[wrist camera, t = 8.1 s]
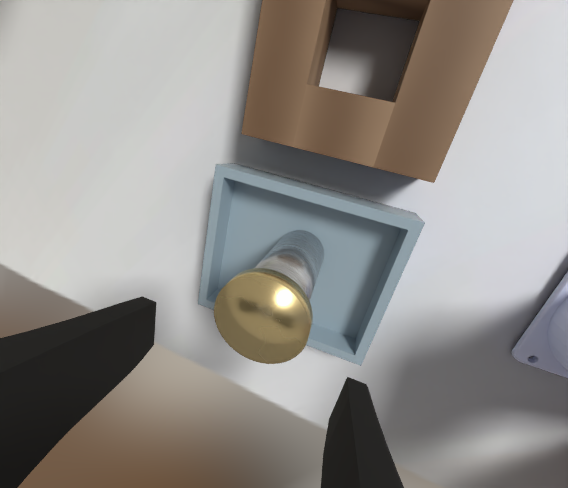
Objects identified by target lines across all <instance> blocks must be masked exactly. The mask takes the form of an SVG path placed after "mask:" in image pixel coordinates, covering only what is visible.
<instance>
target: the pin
mask: <svg viewBox="0 0 568 488" xmlns="http://www.w3.org/2000/svg"><path fill="white" fill-rule="evenodd" d="M323 260H324V248H323V245H322V243H321V242H320V240H319V239H318V238H317V237H316V236H315V235H314V234H312V233H310V232H308V231H304V230H294V231H291V232H288V233H287V234H285V235H284V236H283V237H282V238H281V239H280V240H279V242H278V243H277V244H276V245H275V246H274V247H273V248H272V249H271V250H270V251H269V253H268V254H267V255H266V256H265V257H264V258H263V259H262V260H261V261H260V263H259V264H258V265H257V266H256V267H255V268H252V269H248V270H245V271H242V272H240V273H239V274H237V275H236V276H234V277H233V278H232V279H231V280H230V281H229V282H228V283H227V284H226V285H225V286H224V287H223V288H222V289H221V291H220V292H219V294H218V295H217V298H216V300H215V305H214V317H215V322H216V325H217V328H218V330H219V332H220V334H221V335H222V337H223V338H224V340H225V341H226V342H227V343H228V344H229V346H230V347H232V348H233V349H234V350H235V351H236V352H238V353H239V354H241V355H242V356H244V357H246V358H248V359H250V360H253V361H256V362H260V363H266V364H276V363H282V362H286V361H289V360H291V359H293V358H294V357H296V356H297V355H298V354H299V353H300V352H301V351H302V350H303V349H304V347H305V345H306V343H307V341H308V337H309V334H310V330H311V326H312V321H313V313H312V307H311V304H310V299H311V296H312V293H313V290H314V287H315V284H316V281H317V278H318V275H319V272H320V269H321V266H322V263H323Z"/></svg>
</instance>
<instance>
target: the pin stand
mask: <svg viewBox="0 0 568 488" xmlns="http://www.w3.org/2000/svg"><path fill="white" fill-rule="evenodd" d="M512 3H513V0H262V6H261V12H260V18H259V25H258V31H257V37H256V44H255V50H254V57H253V63H252V69H251V76H250V82H249V88H248V95H247V101H246V107H245V114H244V120H243V126H242V133H241V134H243V135H247V136H251V137H255V138H259V139H263V140H267V141H271V142H275V143H279V144H283V145H287V146H291V147H295V148H299V149H303V150H307V151H310V152H314V153H318V154H322V155H326V156H330V157H334V158H338V159H342V160H346V161H350V162H354V163H358V164H362V165H366V166H370V167H373V168H377V169H381V170H385V171H389V172H393V173H397V174H401V175H405V176H409V177H413V178H417V179H421V180H425V181H429V182H433V183H434V182H435V180H436V177H437V175H438V173H439V170H440V168H441V166H442V164H443V161H444V159H445V157H446V154H447V152H448V150H449V147H450V145H451V143H452V141H453V138H454V136H455V134H456V131H457V129H458V127H459V124H460V122H461V120H462V118H463V115H464V113H465V111H466V108H467V106H468V104H469V101H470V99H471V97H472V95H473V92H474V90H475V88H476V85H477V83H478V81H479V78H480V76H481V74H482V72H483V69H484V67H485V65H486V62H487V60H488V58H489V55H490V53H491V51H492V49H493V46H494V44H495V42H496V39H497V37H498V35H499V33H500V30H501V28H502V26H503V23H504V21H505V19H506V16H507V14H508V12H509V10H510V7H511V5H512ZM337 8H341V9H348V10H354V11H360V12H367V13H373V14H379V15H385V16H392V17H398V18H404V19H411V20H417V21H420V22H419V24H418V27H417V30H416V33H415V36H414V39H413V42H412V45H411V48H410V51H409V54H408V57H407V60H406V63H405V66H404V69H403V72H402V75H401V78H400V81H399V83H398V86H397V89H396V92H395V95H394V98H393V101H392V102H389V101H385V100H380V99H375V98H371V97H366V96H361V95H356V94H352V93H347V92H342V91H337V90H333V89H328V88H323V87H319V83H320V78H321V74H322V70H323V66H324V62H325V58H326V54H327V50H328V45H329V41H330V37H331V33H332V29H333V25H334V21H335V17H336V12H337Z"/></svg>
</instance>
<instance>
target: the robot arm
mask: <svg viewBox="0 0 568 488" xmlns="http://www.w3.org/2000/svg"><path fill="white" fill-rule="evenodd" d="M155 316H156V302H154V301H152V300H149V299H147V298H144V297H140V298H136V299H132V300H129V301H126V302H123V303H119V304H116V305H113V306H110V307H107V308H104V309H101V310H98V311H95V312H91V313H88V314H86V315H82V316H79V317H76V318H72V319H69V320H66V321H62V322H59V323H55V324H52V325H48V326H45V327H41V328H38V329H34V330H31V331H28V332H24V333H20V334H16V335H12V336H8V337H4V338H0V488H17V487H18V486H19V485H20V484H21V483H22V482H23V480H24V479H25V478H26V477H27V476H28V475H29V474H30V472H31V471H32V470H33V469H34V468H35V467H36V466H37V465H38V464H39V463H40V461H41V460H42V459H43V458H44V457H45V456H46V455H47V453H48V452H49V451H50V450H51V449H52V448H53V447H54V446H55V445H56V444H57V443H58V441H59V440H61V439H62V438H63V437H64V435H65V434H66V433H67V432H68V431H69V430H70V429H71V428H72V427H73V426H74V425H76V423H78V422H79V421H80V420H81V419H82V418H83V417H84V416H85V415H86V414H87V413H88V412H89V411H90V410H91V409H92V408H93V407H94V406H96V405H97V403H99V402H100V401H101V400H102V399H103V398H104V397H105V396H106V395H107V394H108V393H109V392H110V391H111V390H112V389H114V388H115V387H116V386H117V385H118V384H119V383H120V382H121V381H122V380H123V379H124V378H125V377H126V376H127V375H128V374H129V373H130V372H131V371H132V370H133V369H134V368H135V367H136V366H137V365H138V363H139V362H140V361H141V360H142V359H143V358H144V356H145V355H146V354H147V352H148V351H149V350H150V349H151V348H152V346H153V345H154V333H155ZM512 355H513V357H514V358H515V359H516V360H517V361H519V362H522V363H525V364H527V365H530V366H533V367H536V368H539V369H542V370H545V371H548V372H551V373H554V374H557V375H559V376H562V377H565V378H568V272H567V273H566V275H565V276H564V277H563V279H562V280H561V282H560V283H559V284H558V286H557V287H556V289H555V290H554V291H553V293H552V294H551V296H550V297H549V299H548V300H547V301H546V303H545V304H544V306H543V307H542V308H541V310H540V311H539V313H538V314H537V316H536V317H535V318H534V320H533V321H532V323H531V324H530V325H529V327H528V328H527V330H526V331H525V332H524V334H523V335H522V337H521V338H520V340H519V341H518V342H517V344H516V345H515V347H514V348H513V349H512ZM530 356H534V357H533V358H529V357H530ZM321 488H404V487H403V485H402V482H401V480H400V477H399V475H398V472H397V470H396V467H395V464H394V462H393V459H392V456H391V454H390V451H389V449H388V446H387V443H386V441H385V438H384V435H383V432H382V429H381V427H380V424H379V421H378V418H377V415H376V412H375V409H374V406H373V402H372V399H371V396H370V393H369V389H368V387H367V385H366V384H364V383H362V382H359V381H357V380H354V379H351V378H349V377H347V379H346V381H345V384H344V386H343V388H342V391H341V393H340V395H339V398H338V400H337V402H336V405H335V407H334V409H333V412H332V414H331V416H330V418H329V423H328V429H327V435H326V441H325V447H324V454H323V466H322V480H321Z"/></svg>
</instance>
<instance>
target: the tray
mask: <svg viewBox="0 0 568 488" xmlns="http://www.w3.org/2000/svg"><path fill="white" fill-rule="evenodd" d="M424 224H425V222H424V221H423V220H422V219H421V218H420V217H419V216H418V215H417V214H416V213H413V212H410V211H406V210H403V209H399V208H395V207H392V206H388V205H384V204H381V203H377V202H373V201H370V200H366V199H363V198H359V197H355V196H352V195H348V194H344V193H341V192H337V191H333V190H330V189H326V188H323V187H319V186H315V185H312V184H308V183H304V182H301V181H297V180H293V179H290V178H286V177H282V176H279V175H275V174H272V173H268V172H264V171H261V170H257V169H253V168H250V167H246V166H242V165H239V164H235V163H230V164H216V167H215V175H214V183H213V191H212V198H211V206H210V214H209V222H208V229H207V237H206V245H205V253H204V260H203V268H202V276H201V283H200V291H199V299H198V304H200V305H202V306H205V307H208V308H210V309H213V310H214V305H215V300H216V298H217V295H218V294H219V292H220V291H221V289H222V288H223V287H224V286H225V285H226V284H227V283H228V282H229V281H230V280H231V279H232V278H233V277H234V276H236V275H237V274H239V273H240V272H242V271H245V270H248V269H252V268H255V267H256V266H257V265H258V264H259V263H260V261H261V260H262V259H263V258H264V257H265V256H266V255H267V254H268V253H269V251H270V250H271V249H272V248H273V247H274V246H275V245H276V244H277V243H278V242H279V240H280V239H281V238H282V237H283V236H284V235H285V234H287V233H288V232H291V231H294V230H304V231H308V232H310V233H312V234H314V235H315V236H316V237H317V238H318V239H319V240H320V242H321V243H322V245H323V248H324V260H323V263H322V266H321V269H320V272H319V275H318V278H317V281H316V284H315V287H314V290H313V293H312V296H311V299H310V304H311V307H312V313H313V321H312V326H311V330H310V334H309V337H308V341H307V343H306V345H308V346H310V347H313V348H316V349H318V350H321V351H323V352H326V353H329V354H331V355H334V356H337V357H339V358H342V359H344V360H347V361H350V362H352V363H355V364H358V365H360V366H361V365H362V362H363V360H364V358H365V356H366V353H367V351H368V349H369V347H370V344H371V342H372V340H373V338H374V336H375V333H376V331H377V329H378V327H379V324H380V322H381V320H382V318H383V315H384V313H385V311H386V309H387V306H388V304H389V302H390V300H391V298H392V295H393V293H394V291H395V289H396V286H397V284H398V282H399V280H400V277H401V275H402V273H403V271H404V268H405V266H406V264H407V262H408V260H409V257H410V255H411V253H412V251H413V248H414V246H415V244H416V242H417V239H418V237H419V235H420V233H421V230H422V228H423V226H424Z"/></svg>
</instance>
